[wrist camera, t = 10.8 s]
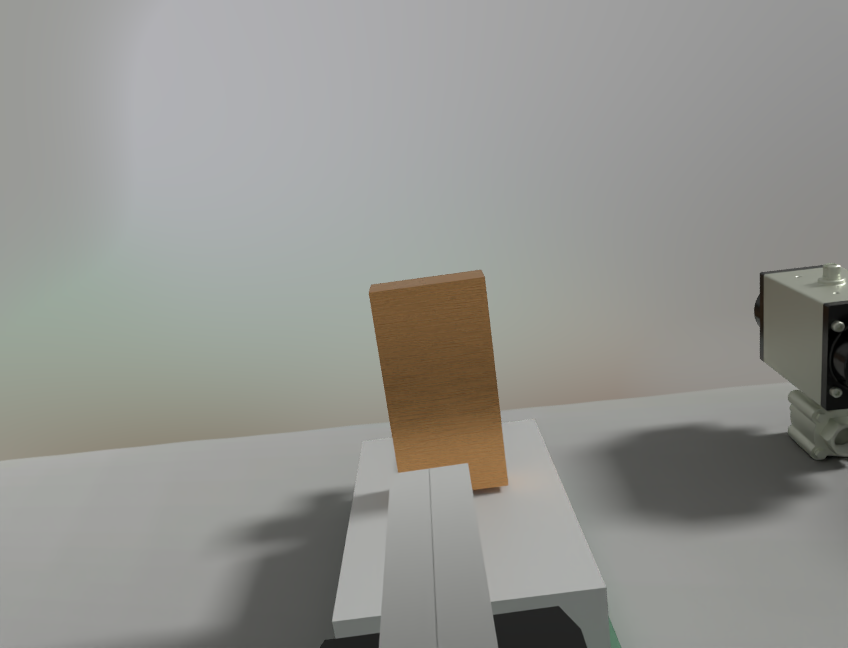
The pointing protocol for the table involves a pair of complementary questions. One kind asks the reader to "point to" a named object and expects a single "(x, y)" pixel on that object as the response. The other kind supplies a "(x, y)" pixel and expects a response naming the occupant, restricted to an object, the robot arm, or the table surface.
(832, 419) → the pneumatic valve
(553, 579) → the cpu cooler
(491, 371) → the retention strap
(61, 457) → the table surface
